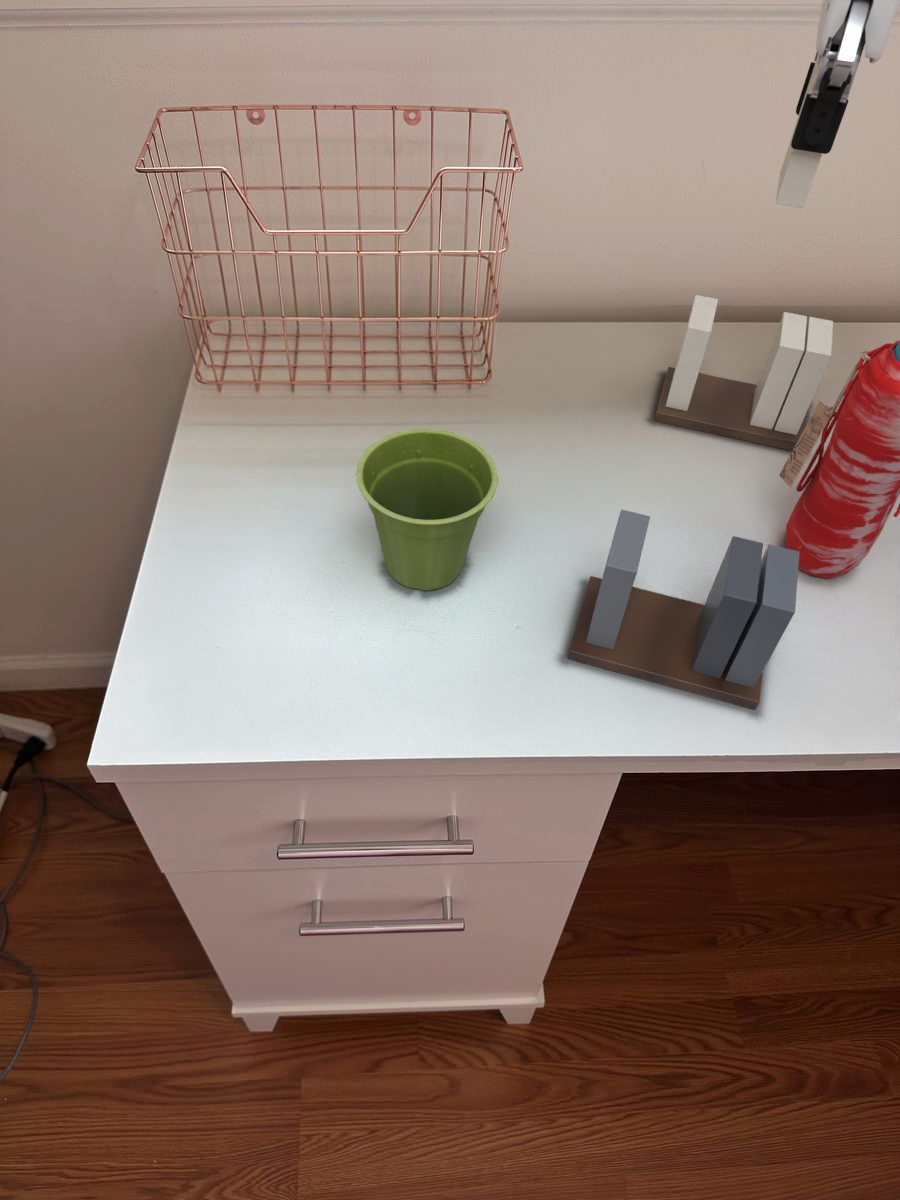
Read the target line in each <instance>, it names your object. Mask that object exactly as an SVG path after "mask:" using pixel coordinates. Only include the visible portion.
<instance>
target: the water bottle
mask: <svg viewBox="0 0 900 1200" xmlns="http://www.w3.org/2000/svg"><path fill="white" fill-rule="evenodd" d="M831 432H832V433H831ZM830 434H831V436H830ZM820 436H821V438H820ZM829 436H830V439H829V442H828V444H827V447H826V449H825V443H826V442H827V440H828V438H829ZM819 438H820V443H819V445H818V447H817V449H816V450H815V452H814V454H813V455H812V458H811V460H810V462H809V464H808V466H807V467H806V468H805V471H804V473H803V475H802V476H801V478H800V479H799V481H798V484H797V486H796V488H795V490H796V492H798V493H799V492H802V491H803V492H802V493H801V495H800V497H799V498H798V500H797V502H796V503H795V506H794V507H793V510H792V512H791V514H790V516H789V519H788V521H787V523H786V525H785V534H786V535H785V543H786V544H785V545H786V549H790V550H794V551H799V565H798V570H801V571H802V572H804V573H806V574H808V575H809V576H811V577H812V576H813V577H818V578H822V579H830V578H835V577H838V576H843V575H847V574H848V573H849V572H851V571H852V570H854V569H856V568H857V567H858V566H860V565H861V563H862V562H863V561H864V559H865V558H866V557H867V556H868V554H869V552H870V551H871V549H872V548H873V546H874V545H875V544H876V542H877V540H878V539H879V537H880V535H881V534H882V532H883V529H884V528H885V525H886V523H887V521H888V520H889V517H890V515H891V513H892V511H893V509H894V507H895V504H896V503H897V500H898V499H899V496H900V339H899V340H895V341H894V342H893V343H890V342H889V343H885V344H883V345H881V346H879V347H877V348H875V349H872V350H869V351H868V350H865V351H861V352H860V357H859V359H858V360H857V363H856V364H855V366H854V367H853V369H852V371H851V373H850V374H849V376H848V378H847V380H846V382H845V384H844V386H843V387H842V389H841V391H840V393H839V395H838V396H837V399H836V401H835V403H834V404H833V406H831V407H830V406H829V405H827V404H825V403H823V402H821V401H819V402H818V403H817V405H816V407H815V409H814V411H813V412H812V414H811V416H810V417H809V420H808V421H807V425H806V427H805V429H804V431H803V432H802V434H801V436H800V438H799V440H798V442H797V443H796V445H795V447H794V449H793V451H791V453H790V454H789V456H788V457H787V460H786V462H785V463H784V465H783V467H782V468H781V470H780V473H779V474H778V476H779V477H780V478H781V479H782V480H783V481H784V482H785V483H786V484H787V486H789V488H792V486H793V485H794V484H795V481H796V480H797V478H798V477H799V474H800V473H801V471H802V468H803V467H804V465H805V463H806V462H807V460H808V458H809V457H810V455H811V453H812V451H813V449H814V447H815V446H816V445H817V442H818V440H819ZM824 450H825V451H824ZM817 458H818V459H817ZM816 460H817V462H816ZM815 462H816V464H815ZM814 464H815V466H814ZM813 466H814V467H813ZM812 468H813V469H812ZM811 469H812V470H811ZM810 471H811V472H810ZM892 516H893V517H894V518H897V517H898V516H900V502H899V503H898V506H897V508H896V510H895V511H894V513H893V514H892Z"/></svg>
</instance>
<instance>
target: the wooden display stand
mask: <svg viewBox="0 0 900 1200" xmlns="http://www.w3.org/2000/svg"><path fill="white" fill-rule="evenodd" d="M718 302H719V299H718V298H714V297H708V296H704V295H699V294H695V296H694V299H693V303H692V307H691V310H690V313H689V316H688V320H687V324H686V328H685V332H684V335H683V339H682V342H681V346H680V350H679V353H678V357H677V360H676V364H675V367H672V366H668V367H667V370H666V374H665V377H664V381H663V385H662V389H661V393H660V396H659V400H658V404H657V408H656V411H655V415H654V419H653V420H654V421H655V422H660V423H663V424H668V425H673V426H677V427H682V428H687V429H690V430H696V431H699V432H705V433H710V434H714V435H718V436H722V437H728V438H732V439H736V440H742V441H746V442H750V443H755V444H760V445H765V446H768V447H773V448H778V449H782V450H783V449H784V450H786V451H791V452H792V451H793V449H794V447H795V445H796V443H797V442H798V440H799V438H800V436H801V434H802V432H803V431H804V429H805V427H806V425H807V423H808V415H809V407H810V405H811V403H812V401H813V398H814V396H815V394H816V391H817V389H818V387H819V385H820V382H821V380H822V379H823V376H824V373H825V371H826V370H827V367H828V365H829V362H830V360H831V357H832V352H833V351H832V350H833V349H832V348H833V331H834V330H833V329H834V320H829V319H824V318H819V317H814V316H809V317H808V316H807V315H802V314H797V313H794V312H793V313H792V312H787V311H783V313H782V316H781V319H780V321H779V325H778V327H777V329H776V332H775V335H774V338H773V340H772V343H771V345H770V348H769V351H768V354H767V356H766V359H765V362H764V364H763V366H762V370H761V373H760V376H759V378H758V380H757V384H754V383H750V382H744V381H739V380H735V379H730V378H725V377H721V376H717V375H716V376H715V375H712V374H707V373H701V372H700V370H701V367H702V363H703V361H704V357H705V354H706V351H707V347H708V344H709V341H710V337H711V334H712V329H713V325H714V321H715V316H716V312H717V306H718Z"/></svg>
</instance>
